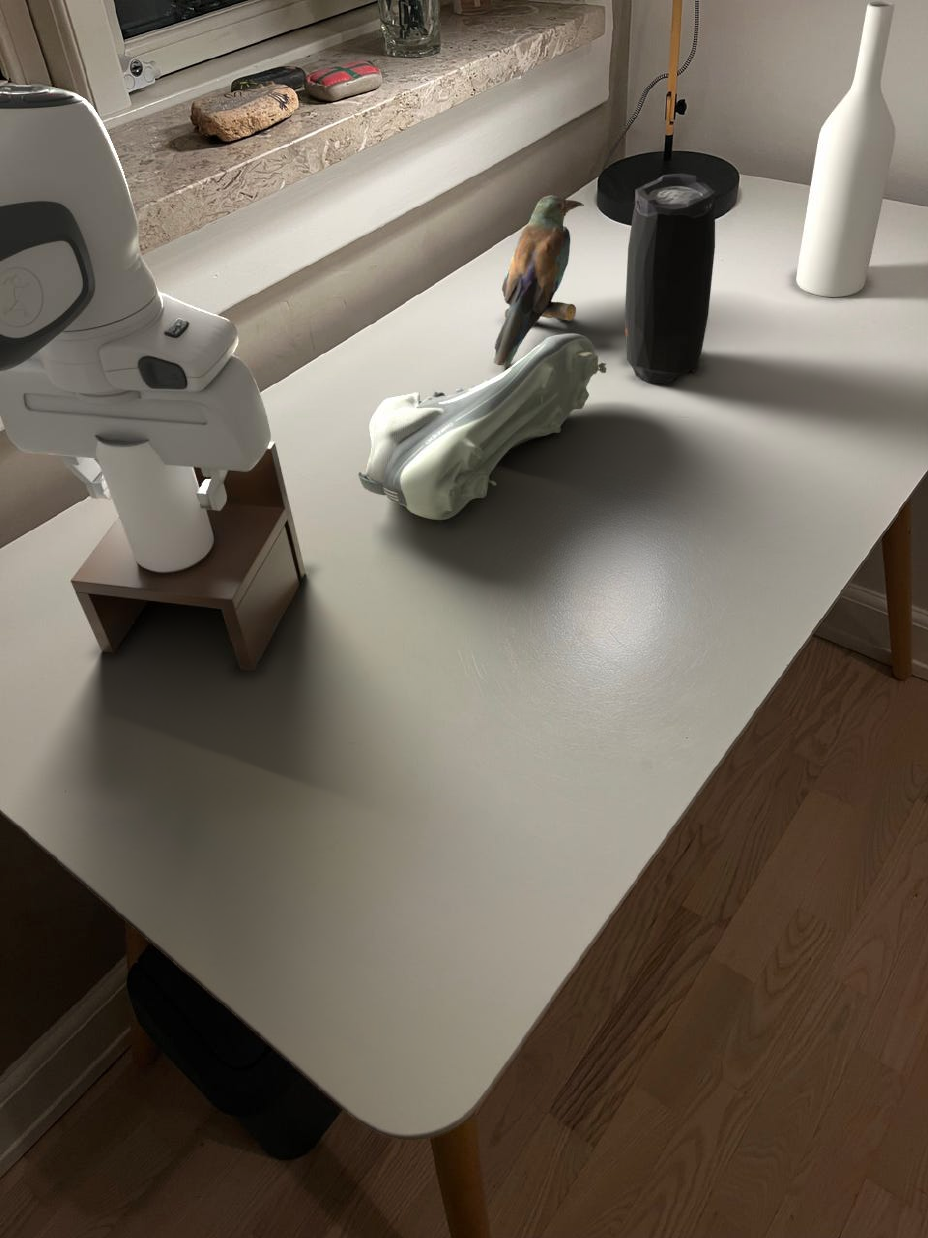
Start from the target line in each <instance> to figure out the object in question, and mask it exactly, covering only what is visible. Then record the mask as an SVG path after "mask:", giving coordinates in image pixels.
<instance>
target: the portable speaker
mask: <svg viewBox="0 0 928 1238" xmlns="http://www.w3.org/2000/svg"><path fill="white" fill-rule="evenodd" d="M716 193H717V192H716V191H715V190H713V189H712V188H711V187H710V186H709V185H708V184H707V183H705V182H704V181H703V180H702V179H700V178H699V177H698V176H697V175H693V174H689V173H688V174H687V173H673V174H672V173H671V174H662V176H660V177H659V178H656V179H654V180H652V181H649V182H648V183H646V184H644V185H642V186H640V187H638V188H635V196H634V197H635V198H634V205H633V206H634V207H633V212H632V213H633V214H632V220H631V227H630V233H629V240H628V244H627V245H628V246H627V265H626V283H625V284H626V285H625V286H626V287H625V304H624V305H625V307H624V321H625V324H624V325H625V329H624V335H625V340H626V342H625V344H626V359H627V361H628V363H629V364H630V366H631V368H632V369H633V372H634V374H635V377H637V378H639V379H641V380H642V381H645V382H647V383H653V384H665V385H666V384H667V385H668V384H669V383H670V382H672V380H674V379H675V378H676V377H678V376H680V375H682V374H684V373H687V372H690V371H693V372H696V371H698V370H699V366H700V358H701V356H702V352H703V346H704V340H705V335H706V331H707V324H708V319H709V311H710V301H711V292H712V281H713V273H714V272H713V271H714V262H715V253H716Z"/></svg>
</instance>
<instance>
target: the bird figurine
mask: <svg viewBox="0 0 928 1238" xmlns="http://www.w3.org/2000/svg"><path fill="white" fill-rule="evenodd" d="M578 207H585V205H584V203H582V202H580V201H577V200H571V199H566V198H564V197H561V196H557V195H554V194H550V195H547V196H544V197H542V198H541V199H540V200H539V201H537V203H536V206H535V208H534V210H533V212H532V214H531V216H530V220H529V221H528V223H527V224H526V226H525V227H524V228H523V229H522V231H521V233H520V236H519V237H518V239H517V241H516V244H515V247H514V250H513V254H512V257H511V260H510V263H509V265H508V268H507V271H506V273H505V277H504V279H503V284H502V286H501V291H502V293H503V294H502V295H503V298H504V302H505V303H506V304H507V305H509V307H508V308H507V309H505V311H504V318H505V319H504V322H503V324H502V326H501V328H500V330H499V333H498V335H497V338H496V339H495V343H494V350H495V353H494V358H493V364H494V365H497V366H502V369H507V367H509V366H510V365H511V364H512V362H513V359H514V358H515V356H516V355H517V352H518V350H519V347H520V346H521V344H522V342H523V340H524V339H525V338H526V337H527V335H528V333H529V332H530V331H531V330H532V329H533V328H534V326H535V325H536V324H537V322H538V321H539V319H540V318H542V317H543V318H545V319H556V320H557V321H560V322H561V321H563V320H565V321H569V322H570V321H572V320H573V319H574V318H575V317H576V314H577V307H576V305H575V304H573V303H566V302H562V301H552V300H553V298H554V295H555V294H556V292H557V291H558V290H559V288H560V285H561V284H562V281H563V277H564V275H565V271H566V268H567V267H568V265H569V259H570V250H571V234H570V230H569V228H568V227H567V226H564V220H565V216H567V213H568V212H570V210H574V209H575V208H578Z"/></svg>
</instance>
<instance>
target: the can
mask: <svg viewBox="0 0 928 1238" xmlns="http://www.w3.org/2000/svg"><path fill="white" fill-rule="evenodd" d="M95 437H96V439H97V440H98V443H97V447H96V456H97V463H98V464H99V466H100V468H101V470H102V473H103V476H104V478H105V481H106V484H107V486H108V489H109V492H110V494H111V497H112V498H111V500H112V503H113V505H114V507H115V510H116V513H117V515H118V517H119V518H120V521H121V523H122V526H123V529H124V531H125V534H126V536H127V539H128V542H129V544H130V547H131V549H132V552H133V554H134V557H135V559H136V561H137V562H138V563H139V564H140V565H141V566H142V567H144V568H146V569H148V570H150V571H153V572H158V573H173V572H178V571H182V570H185V569H188V568H190V567H192V566H194V565H196V564H197V563H199V562H200V561H201V560H203V559H204V558H205V557H206V555H207V554H208V553H209V551H210V549H211V548H212V545H213V542H214V537H213V532H212V529H211V525H210V522H209V518H208V515H207V512H206V509H201V507H200V503H201V502H200V501H199V500H198V498H197V495H196V492H197V491H198V489H199V485H198V482H197V479H196V476H195V472H194V469H193V467H187V466H176V465H166V464H164V462H163V461H162V460H161V458H160V457H159V455H158V454H157V453H156V452H155V451H154V450H153V449H152V447H151V446H150V445H149V440H148V439H147V440H145V441H142V442H127V441H121V440H118V439H116V441H115V440H100V439H99V438H98V436H97V435H95Z"/></svg>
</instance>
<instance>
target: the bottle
mask: <svg viewBox="0 0 928 1238" xmlns="http://www.w3.org/2000/svg"><path fill="white" fill-rule="evenodd" d="M894 12H895V3H894V2H893V1H889V0H874V1H870V2H869V3H868V4H867V7H866V11H865V18H864V23H863V28H862V33H861V39H860V45H859V50H858V56H857V62H856V67H855V73H854V77H853V81H852V84H851V86H850V89H849V90H848V91H847V93H846V94H845V95H844V96H843V98H842V99H841V100H840V102H839V103H838V104H837V105H836V106H835V108H834V109H833V111H832V112H831V113H830V114H829V116H828V117H827V118H826V120H825V121H824V123H823V125H822V126H821V127H820V131H819V133H818V134H819V135H818V139H817V146H816V150H815V157H814V163H813V169H812V170H813V171H812V176H811V181H810V182H811V183H810V189H809V195H808V201H807V207H806V214H805V220H804V226H803V232H802V239H801V245H800V250H799V257H798V262H797V269H796V270H797V271H796V279H795V280H796V281H795V282H796V284H797V285H798V287H799V288H800V289H802V290H803V291H805V292H807V293H809V294H811V295H814V296H818V297H819V296H820V297H826V298H841V297H847V296H848V297H849V296H851V295H855V294H856V293H858V292H860V291H861V290H862V289H864V287H865V284H866V281H867V278H868V272H869V268H870V263H871V258H872V254H873V248H874V245H875V240H876V239H875V238H876V234H877V229H878V225H879V220H880V214H881V210H882V205H883V200H884V196H885V191H886V186H887V181H888V177H889V171H890V168H891V162H892V158H893V152H894V148H895V142H896V127H895V122H894V120H893V117H892V115H891V112H890V109H889V107H888V105H887V102H886V100H885V97H884V94H883V93H882V87H881V82H882V75H883V70H884V66H885V65H884V63H885V58H886V53H887V48H888V43H889V38H890V33H891V27H892V22H893V15H894Z"/></svg>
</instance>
